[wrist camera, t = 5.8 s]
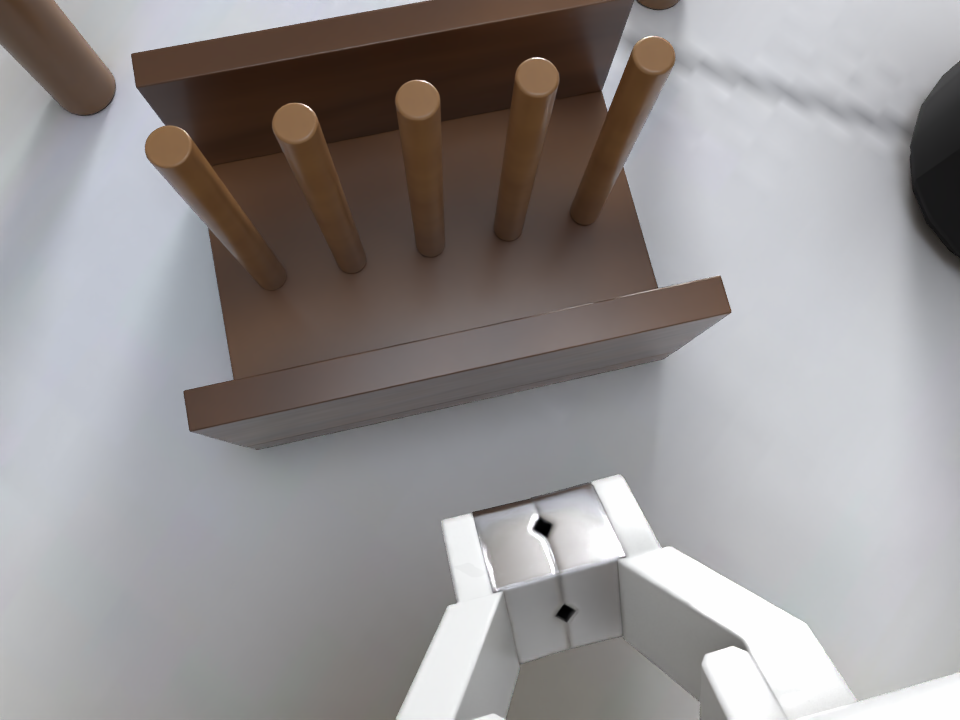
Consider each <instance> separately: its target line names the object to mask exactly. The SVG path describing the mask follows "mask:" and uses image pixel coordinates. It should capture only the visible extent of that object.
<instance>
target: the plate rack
mask: <svg viewBox="0 0 960 720" xmlns="http://www.w3.org/2000/svg"><path fill="white" fill-rule="evenodd" d="M633 2H634V0H429V1H423V2H418V3H412V4H407V5H401V6H395V7H390V8H384V9H379V10H373V11H367V12H362V13H356V14H351V15H345V16H340V17H334V18H328V19H323V20H317V21H312V22H306V23H300V24H295V25H289V26H284V27H278V28H272V29H267V30H261V31H256V32H250V33H244V34H239V35H233V36H228V37H222V38H216V39H211V40H205V41H200V42H194V43H189V44H183V45H177V46H172V47H166V48H161V49H155V50H149V51H144V52H138V53H133V54H131V57H132V64H133V70H134V77H135V83H136V88H137V89H138V90H139V92H140V93H141V94H142V96H143V97H144V98H145V99H146V101H147V102H148V103H149V105H150V106H151V107H152V109H153V110H154V111H155V113H156V114H157V115H158V117H159V118H160V119H161V121H162V122H163V123H164V124H165V126H163V127H160V128H158V129H156V130H154V131H153V132H152V133H151V134H150V135H149V137H148V138H147V140H146V144H145V153H146V156H147V158H148V160H149V161H150V162H151V163H152V164H153V166H154V167H155V168H156V169H157V170H158V171H159V172H160V173H161V175H162V176H163V177H164V178H165V179H166V180H167V181H168V183H169V184H170V185H171V186H172V187H173V188H174V189H175V190H176V192H177V193H178V194H179V195H180V196H181V197H182V198H183V199H184V201H185V202H186V203H187V204H188V205H189V206H190V207H191V209H192V210H193V211H194V212H195V213H196V214H197V215H198V216H199V218H200V219H201V220H202V221H203V222H204V223H205V224H206V225H207V227H208V230H209V236H210V242H211V248H212V254H213V260H214V266H215V272H216V278H217V284H218V290H219V296H220V301H221V307H222V313H223V319H224V325H225V331H226V337H227V343H228V349H229V355H230V361H231V367H232V373H233V378H234V380H231V381H226V382H222V383H217V384H212V385H208V386H203V387H199V388H194V389H189V390H185V391H184V399H185V405H186V412H187V418H188V425H189V431H190V432H194V433H197V434H201V435H204V436H208V437H212V438H215V439H219V440H222V441H226V442H229V443H233V444H237V445H240V446H244V447H249V448H252V449H256V450H259V449H263V448H268V447H272V446H277V445H281V444H286V443H290V442H295V441H299V440H304V439H308V438H313V437H317V436H321V435H326V434H330V433H335V432H339V431H344V430H348V429H353V428H357V427H362V426H366V425H371V424H375V423H380V422H384V421H389V420H393V419H398V418H402V417H407V416H411V415H416V414H420V413H425V412H429V411H433V410H438V409H442V408H447V407H451V406H456V405H460V404H465V403H469V402H474V401H478V400H483V399H487V398H492V397H496V396H501V395H505V394H510V393H514V392H519V391H523V390H528V389H532V388H536V387H541V386H545V385H550V384H554V383H559V382H563V381H568V380H572V379H577V378H581V377H586V376H590V375H595V374H599V373H604V372H608V371H613V370H617V369H622V368H626V367H631V366H635V365H639V364H644V363H648V362H653V361H657V360H662V359H665V358H666V357H668V356H669V355H670V354H672V353H673V352H675V351H677V350H678V349H680V348H681V347H682V346H684V345H685V344H687V343H688V342H690V341H691V340H693V339H694V338H695V337H697V336H698V335H700V334H701V333H703V332H704V331H705V330H707V329H708V328H710V327H711V326H713V325H714V324H716V323H717V322H718V321H720V320H721V319H723V318H724V317H726V316H727V315H729V314H730V313H731V309H730V305H729V302H728V299H727V295H726V292H725V289H724V286H723V282H722V279H721V276H714V277H709V278H705V279H700V280H696V281H691V282H686V283H682V284H677V285H672V286H668V287H663V288H658V286H657V283H656V279H655V276H654V272H653V269H652V265H651V262H650V258H649V255H648V251H647V248H646V244H645V241H644V237H643V234H642V230H641V227H640V223H639V220H638V216H637V213H636V209H635V206H634V202H633V199H632V195H631V192H630V188H629V185H628V181H627V178H626V174H625V171H624V167H623V166H624V164H625V162H626V160H627V158H628V156H629V154H630V152H631V150H632V148H633V146H634V144H635V142H636V140H637V138H638V136H639V134H640V132H641V130H642V128H643V126H644V124H645V122H646V120H647V118H648V116H649V114H650V112H651V110H652V108H653V106H654V104H655V102H656V100H657V98H658V96H659V94H660V92H661V90H662V88H663V86H664V84H665V82H666V80H667V78H668V76H669V74H670V72H671V70H672V68H673V66H674V63H675V52H674V49H673V47H672V45H671V44H670V43H669V42H668V41H667V40H665V39H664V38H661V37H658V36H648V37H645V38H643V39H641V40H639V41H638V42H637V43H636V44H635V45H634V47H633V50H632V52H631V55H630V57H629V60H628V62H627V65H626V68H625V70H624V73H623V75H622V78H621V80H620V83H619V85H618V88H617V90H616V93H615V96H614V98H613V101H612V103H611V106H610V108H609V111H607V108H606V104H605V101H604V97H603V94H602V89H603V86H604V83H605V81H606V78H607V75H608V72H609V69H610V67H611V64H612V61H613V58H614V55H615V53H616V50H617V47H618V44H619V41H620V39H621V36H622V33H623V30H624V27H625V25H626V22H627V19H628V16H629V13H630V11H631V8H632V5H633Z"/></svg>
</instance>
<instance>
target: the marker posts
mask: <svg viewBox="0 0 960 720" xmlns="http://www.w3.org/2000/svg"><path fill="white" fill-rule="evenodd" d="M637 1H638V2H640V3H641V4H642V5H644V6H646V7H648V8H652V9H666V8H669V7H672V6H674V5H675V4H676V3H678V2H679V1H680V0H637ZM0 44H1V45H2V46H3V47H4V48H5V49H6V50H7V51H8V52H9V53H10V54H11V55H12V56H13V57H14V58H15V59H16V60H17V62H18V63H19V64H20V65H21V66H22V67H23V68H24V69H25V70H26V71H27V72H28V73H29V74H30V75H31V76H32V77H33V78H34V79H35V80H36V81H37V82H38V83H39V84H40V85H41V86H42V87H43V88H44V89H45V90H46V91H47V92H48V93H49V94H50V95H51V96H52V97H53V98H54V99H55V100H56V101H57V102H58V103H59V104H60V105H61V106H62V107H63V108H64V109H65V110H67V111H69V112H71V113H74V114H78V115H90V114H94V113H96V112H99V111H101V110H102V109H104V108H105V107H106V106H107V105H108V104H109V103H110V101H111V100H112V98H113V96H114V93H115V80H114V77H113V75H112V73H111V72H110V71H109V69H108V68H107V67H106V65H105V64H104V63H103V62H102V60H101V59H100V58H99V57H98V55H97V54H96V53H95V52H94V50H93V49H92V48H91V47H90V45H89V44H88V43H87V42H86V40H85V39H84V38H83V36H82V35H81V34H80V33H79V31H78V30H77V29H76V28H75V26H74V25H73V24H72V23H71V21H70V20H69V19H68V18H67V16H66V15H65V14H64V12H63V11H62V10H61V9H60V7H59V6H58V5H57V4H56V2H55V1H54V0H0Z"/></svg>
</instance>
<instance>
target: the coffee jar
mask: <svg viewBox="0 0 960 720" xmlns="http://www.w3.org/2000/svg"><path fill="white" fill-rule="evenodd" d="M910 149H911V155H910V164H911V174H912V185H913V192H914V194H915V196H916V199H917V201H918V204H919V206H920V208H921V211H922V213H923V215H924V218H925V220H926V222H927V224H928V225H929V226H930V227H931V229H932V230H933V231H934V232H935V233H936V235H937V236H938V237H939V238H940V240H941V241H942V242H943V243H944V244H945V246H946V247H947V248H948V249H949V250H950V251H951V252H952V253H953V254H955V255H956V256H958V257H959V258H960V61H959V62H958V63H957V64H955V65H954V66H953V67H952V68H951V69H950V70H949V71H947V72H946V73H945V74H944V75H943V76H942V77H941V79H940V80H939V82H938V83H937V84H936V86H935V87H934V89H933V90H932V91H931V93H930V94H929V96H928V97H927V98H926V100H925V101H924V103H923V104H922V106H921V109H920V111H919V115H918V118H917V122H916V126H915V130H914V134H913V138H912V142H911V145H910Z"/></svg>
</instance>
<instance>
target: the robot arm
mask: <svg viewBox="0 0 960 720" xmlns="http://www.w3.org/2000/svg"><path fill="white" fill-rule="evenodd" d="M472 513H473V516H472ZM472 513H469V514H465V515H461V516H456V517H452V518H448V519H444V520H441V524H442V532H443V537H444V542H445V547H446V552H447V557H448V562H449V567H450V572H451V577H452V582H453V586H454V591H455V596H456V601H457V603H455V604H452V605H448V607H447V609H446V611H445V613H444V615H443V617H442V620H441V622H440V624H439V626H438V628H437V630H436V633H435V635H434V637H433V639H432V641H431V643H430V646H429V648H428V650H427V652H426V654H425V657H424V659H423V661H422V663H421V665H420V667H419V670H418V672H417V674H416V676H415V678H414V680H413V683H412V685H411V687H410V689H409V691H408V693H407V696H406V698H405V700H404V702H403V704H402V706H401V709H400V711H399V713H398V715H397V717H396V720H506V716H507V713H508V709H509V706H510V702H511V699H512V695H513V692H514V688H515V685H516V681H517V678H518V674H519V671H520V664H523V663H527V662H530V661H533V660H536V659H540V658H543V657H546V656H549V655H553V654H556V653H559V652H563V651H566V650H569V649H573V648H577V647H581V646H585V645H589V644H593V643H597V642H601V641H605V640H609V639H613V638H617V637H621V636H623V638H624V640H626V641H627V642H628V643H629V644H630V645H632V646H633V647H634V648H635V649H637V650H638V651H639V652H640V653H641V654H643V655H644V656H645V657H646V658H647V659H649V660H650V661H651V662H652V663H653V664H655V665H656V666H657V667H658V668H659V669H661V670H662V671H663V672H664V673H665V674H667V675H668V676H669V677H670V678H671V679H673V680H674V681H675V682H676V683H677V684H679V685H680V686H681V687H682V688H684V689H685V690H686V691H687V692H688V693H690V694H691V695H692V696H693V697H694V698H696V699H697V700H698V701H699V702H700V719H699V720H960V672H958V673H955V674H951V675H948V676H944V677H941V678H938V679H934V680H931V681H927V682H924V683H920V684H917V685H913V686H910V687H906V688H903V689H900V690H896V691H893V692H889V693H886V694H882V695H879V696H875V697H872V698H869V699H865V700H862V701H858V700H857V699H856V697H855V696H854V694H853V693H852V691H851V690H850V688H849V687H848V685H847V684H846V682H845V681H844V679H843V678H842V676H841V675H840V673H839V672H838V670H837V669H836V667H835V666H834V664H833V663H832V661H831V660H830V658H829V657H828V655H827V654H826V652H825V651H824V649H823V648H822V646H821V645H820V643H819V642H818V640H817V639H816V637H815V636H814V634H813V633H812V631H811V630H810V628H809V627H808V625H807V624H806V623H804V622H802V621H801V620H799V619H797V618H796V617H794V616H792V615H790V614H789V613H787V612H785V611H783V610H782V609H780V608H778V607H776V606H775V605H773V604H771V603H769V602H768V601H766V600H764V599H762V598H761V597H759V596H757V595H755V594H754V593H752V592H750V591H748V590H747V589H745V588H743V587H741V586H740V585H738V584H736V583H734V582H733V581H731V580H729V579H727V578H726V577H724V576H722V575H720V574H719V573H717V572H715V571H713V570H712V569H710V568H708V567H706V566H705V565H703V564H701V563H699V562H698V561H696V560H694V559H692V558H691V557H689V556H687V555H685V554H684V553H682V552H680V551H678V550H677V549H675V548H673V547H671V546H668V547H664V548H661V546H660V544H659V542H658V540H657V539H656V537H655V535H654V533H653V531H652V529H651V527H650V525H649V524H648V522H647V520H646V518H645V516H644V514H643V512H642V510H641V509H640V507H639V505H638V503H637V501H636V499H635V497H634V495H633V494H632V492H631V490H630V488H629V486H628V484H627V482H626V480H625V479H624V477H622V476H621V475H620V474H618V475H614V476H610V477H607V478H603V479H599V480H595V481H592V482H590V483H584V484H580V485H576V486H573V487H569V488H565V489H562V490H558V491H554V492H551V493H547V494H543V495H540V496H536V497H532V498H531V499H527V500H522V501H518V502H514V503H510V504H505V505H501V506H497V507H492V508H488V509H484V510H480V511H475V512H472ZM473 518H474V519H473ZM474 522H475V523H474Z"/></svg>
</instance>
